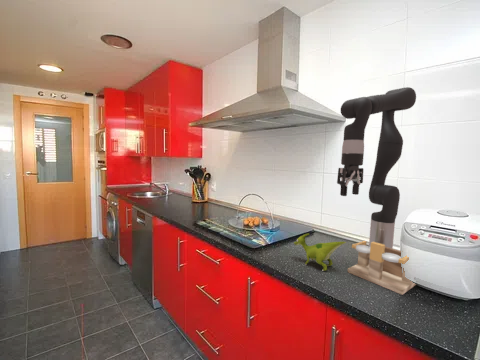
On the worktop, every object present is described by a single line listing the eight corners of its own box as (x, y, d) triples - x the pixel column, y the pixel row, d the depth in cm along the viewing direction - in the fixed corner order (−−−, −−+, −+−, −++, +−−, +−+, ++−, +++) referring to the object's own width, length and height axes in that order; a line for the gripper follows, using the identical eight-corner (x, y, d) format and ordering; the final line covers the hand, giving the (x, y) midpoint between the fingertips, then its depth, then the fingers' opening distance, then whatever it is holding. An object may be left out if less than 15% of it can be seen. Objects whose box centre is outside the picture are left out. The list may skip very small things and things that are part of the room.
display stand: (363, 264, 102) (365, 240, 101) (416, 284, 87) (419, 255, 86) (347, 272, 95) (349, 245, 94) (402, 294, 80) (405, 263, 79)
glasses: (362, 248, 99) (363, 233, 99) (413, 263, 85) (414, 247, 85) (348, 253, 93) (350, 238, 92) (401, 271, 79) (402, 253, 78)
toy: (310, 269, 106) (296, 236, 110) (358, 258, 94) (340, 221, 97) (302, 276, 100) (287, 240, 104) (352, 265, 87) (333, 225, 91)
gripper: (352, 153, 99) (349, 192, 101) (332, 151, 91) (329, 194, 92) (371, 153, 93) (368, 195, 95) (352, 151, 85) (348, 197, 86)
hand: (349, 195), depth 93 cm, fingers open, 8 cm apart
